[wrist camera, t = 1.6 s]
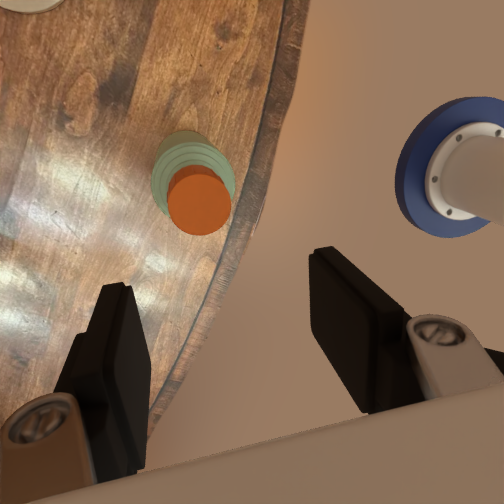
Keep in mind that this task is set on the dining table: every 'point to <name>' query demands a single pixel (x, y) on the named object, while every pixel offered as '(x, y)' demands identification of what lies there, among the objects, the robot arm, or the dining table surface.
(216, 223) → the cap
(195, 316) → the dining table surface
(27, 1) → the coaster
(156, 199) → the bottle
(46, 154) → the dining table surface
